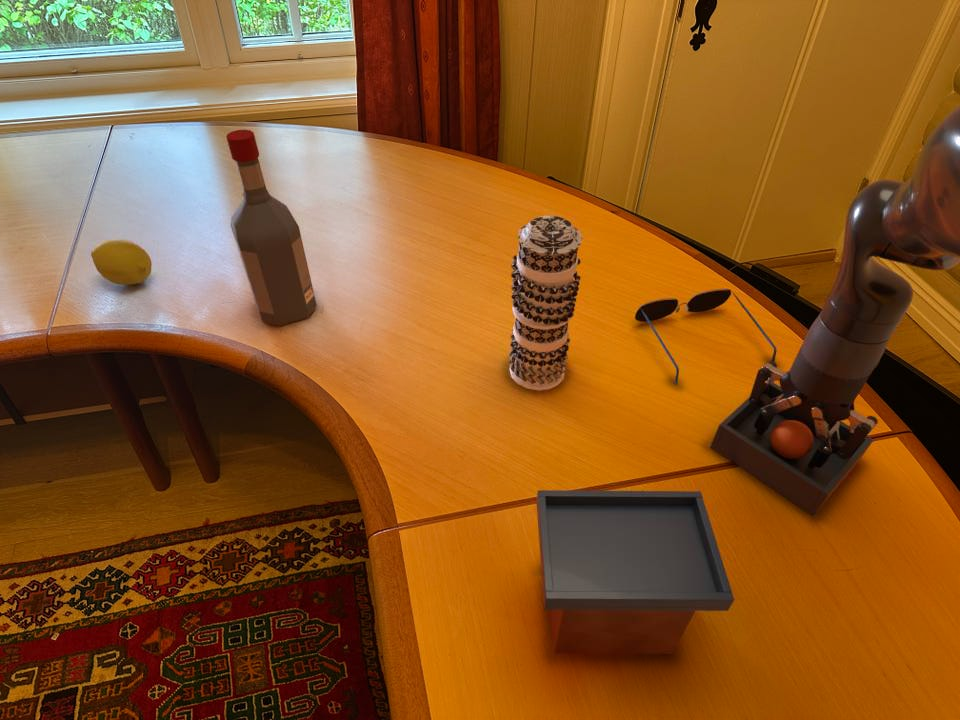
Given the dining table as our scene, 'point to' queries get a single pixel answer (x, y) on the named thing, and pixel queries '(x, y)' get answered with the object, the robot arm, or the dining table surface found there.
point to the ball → (791, 439)
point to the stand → (618, 631)
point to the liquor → (269, 242)
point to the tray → (629, 552)
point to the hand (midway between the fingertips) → (786, 447)
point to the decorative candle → (543, 301)
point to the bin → (780, 472)
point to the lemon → (122, 261)
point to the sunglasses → (695, 304)
